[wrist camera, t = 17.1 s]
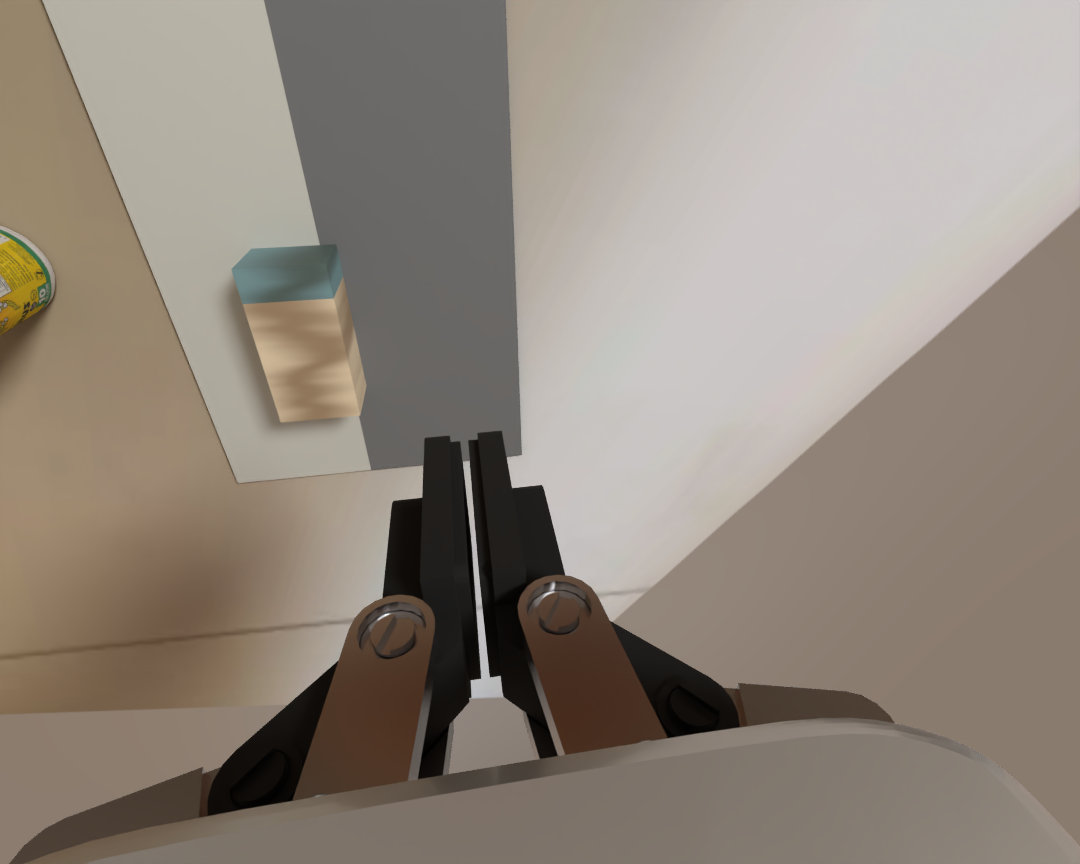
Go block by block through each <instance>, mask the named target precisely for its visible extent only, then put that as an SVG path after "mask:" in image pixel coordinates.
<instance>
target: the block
mask: <svg viewBox="0 0 1080 864" xmlns="http://www.w3.org/2000/svg"><path fill="white" fill-rule="evenodd" d="M231 270H232V273H233V276H234V279H235V282H236V286H237V289H238V292H239V295H240V298H241V301H242V304H243V307H244V310H245V313H246V316H247V319H248V323H249V326H250V329H251V332H252V335H253V338H254V341H255V344H256V347H257V350H258V353H259V356H260V360H261V363H262V366H263V369H264V372H265V375H266V378H267V381H268V384H269V387H270V390H271V393H272V397H273V400H274V403H275V406H276V409H277V412H278V415H279V418H280V421H281V422H292V421H304V420H315V419H326V418H338V417H349V416H360V414H361V409H362V405H363V400H364V395H365V391H366V381H365V377H364V372H363V367H362V363H361V358H360V353H359V348H358V344H357V339H356V334H355V330H354V325H353V320H352V315H351V311H350V306H349V301H348V297H347V292H346V287H345V282H344V278H343V273H342V268H341V264H340V259H339V254H338V249H337V245H336V244H332V245H313V246H294V247H274V248H255V249H250V250H249V252H248V253H247V254H246V255H245V256H244V257H243V258H242V259H241V260H240V261H239V262H238V263H237V264H236V265H235V266H234V267H233V268H232V269H231Z"/></svg>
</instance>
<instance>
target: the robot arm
mask: <svg viewBox="0 0 1080 864" xmlns="http://www.w3.org/2000/svg"><path fill="white" fill-rule="evenodd" d="M477 436H478V439H476V440H468V445H469V457H470V469H471V481H472V494H473V506H474V518H475V530H476V542H477V555H478V566H479V577H480V587H481V597H482V606H483V616H484V625H485V635H486V645H487V654H488V664H489V673H490V677H495V676H501V682H502V692H503V696H504V697H505V698H506V699H508V700H509V701H510V702H512V703H513V704H515V705H516V706H518V707H519V708H520V709H521V710H523V716H524V721H525V725H526V728H527V732H528V735H529V739H530V742H531V746H532V749H533V752H534V756H535V759H536V760H532V761H526V762H520V763H514V764H508V765H502V766H496V767H490V768H484V769H478V770H472V771H466V772H460V773H454V774H448V773H449V766H450V758H451V750H452V741H453V733H454V723H453V720H454V719H455V718H456V716H457V715H458V714H459V713H460V712H461V711H462V710H463V708H464V707H465V706H466V705H467V704H468V703H469V698H471V681H470V680H475V679H481V670H480V656H479V642H478V628H477V614H476V600H475V586H474V572H473V558H472V545H471V534H470V524H469V515H468V506H467V497H466V488H465V479H464V470H463V461H462V452H461V443H460V441H455V442H451V439H450V435H449V436H438V437H427V438H425V439H424V466H423V496H422V498H417V499H407V500H398V501H393V503H392V509H391V519H390V529H389V539H388V549H387V559H386V569H385V579H384V589H383V598H382V599H379V600H377V601H374V602H373V603H371V604H370V605H368V606H367V607H365V608H364V609H363V610H362V611H361V612H360V613H359V614H358V615H357V616H356V617H355V619H354V621H353V622H352V624H351V626H350V628H349V631H348V634H347V637H346V640H345V643H344V646H343V649H342V652H341V655H340V658H339V661H337V662H336V663H335V664H334V665H333V666H332V667H331V668H330V669H328V670H327V671H326V672H325V673H324V674H323V675H322V676H320V677H319V678H318V679H317V680H316V681H315V682H314V683H312V684H311V685H310V686H309V687H308V688H307V689H306V690H304V691H303V692H302V693H301V694H300V695H299V696H298V697H296V698H295V699H294V700H293V701H292V702H291V703H290V704H288V705H287V706H286V707H285V708H284V709H283V710H282V711H280V712H279V713H278V714H277V715H276V716H275V717H274V718H273V719H271V720H270V721H269V722H268V723H267V724H266V725H265V726H263V727H262V728H261V729H260V730H259V731H258V732H257V733H255V734H254V735H253V736H252V737H251V738H250V739H249V740H248V741H246V742H245V743H244V744H243V745H242V746H241V747H240V748H238V749H237V750H236V751H235V752H234V753H233V754H232V755H231V756H230V758H229V759H228V760H227V761H226V762H225V763H224V764H223V765H222V767H220V768H217V769H214V770H212V771H209V772H206V771H205V769H204V768H203V767H201V768H199V769H196V770H193V771H191V772H188V773H185V774H183V775H180V776H177V777H175V778H172V779H169V780H166V781H164V782H161V783H158V784H156V785H153V786H150V787H148V788H145V789H142V790H139V791H137V792H134V793H132V794H129V795H126V796H123V797H121V798H118V799H115V800H113V801H110V802H107V803H105V804H102V805H99V806H96V807H94V808H91V809H88V810H86V811H83V812H80V813H78V814H75V815H73V816H69V817H67V818H64V819H62V820H61V821H59V822H57V823H55V824H53V825H51V826H49V827H47V828H45V829H44V830H42V831H41V832H40V833H39V834H38V835H36V836H35V837H34V838H33V839H31V840H30V841H29V842H28V843H27V844H25V845H24V846H23V847H22V849H21V850H20V851H19V852H18V854H17V855H16V856H15V857H14V859H13V860H12V861H11V862H10V863H9V864H1080V847H1079V845H1078V844H1077V843H1076V842H1075V841H1074V840H1073V839H1072V837H1071V836H1070V835H1069V834H1068V833H1067V832H1066V831H1065V830H1064V829H1063V827H1061V826H1060V824H1059V823H1058V822H1057V821H1056V820H1055V819H1054V818H1053V817H1052V816H1051V815H1050V814H1049V813H1048V811H1047V810H1045V808H1044V807H1043V806H1042V805H1041V804H1040V803H1039V802H1038V801H1037V800H1036V799H1035V798H1034V797H1033V796H1032V795H1031V794H1030V793H1029V792H1028V791H1027V790H1026V789H1025V788H1024V787H1023V786H1022V785H1021V784H1020V783H1019V782H1017V781H1016V780H1015V779H1014V778H1013V777H1012V776H1011V775H1009V774H1008V773H1007V772H1006V771H1005V770H1004V769H1003V768H1001V767H1000V766H999V765H997V764H996V763H994V762H993V761H992V760H990V759H989V758H987V757H986V756H985V755H983V754H981V753H979V752H977V751H976V750H974V749H972V748H970V747H968V746H966V745H964V744H962V743H959V742H956V741H954V740H952V739H949V738H947V737H943V736H941V735H938V734H935V733H932V732H928V731H925V730H921V729H917V728H913V727H910V726H906V725H902V724H896V723H894V721H893V720H892V718H891V717H890V715H889V714H888V713H886V712H885V711H884V710H883V709H882V708H881V707H880V706H879V705H878V704H877V703H875V702H873V701H871V700H869V699H868V698H866V697H864V696H862V695H859V694H855V693H851V692H847V691H836V690H823V689H811V688H798V687H784V686H772V685H758V684H745V683H738V685H737V688H736V689H735V688H723V687H722V686H721V685H719V684H718V683H717V682H715V681H714V680H712V679H711V678H710V677H708V676H706V675H704V674H703V673H701V672H699V671H697V670H695V669H694V668H692V667H690V666H688V665H687V664H685V663H683V662H682V661H680V660H678V659H676V658H674V657H672V656H671V655H669V654H667V653H666V652H664V651H662V650H660V649H659V648H657V647H655V646H653V645H651V644H650V643H648V642H646V641H644V640H643V639H641V638H639V637H637V636H636V635H634V634H632V633H630V632H629V631H627V630H625V629H623V628H621V627H620V626H618V625H616V624H614V623H613V622H611V621H610V620H609V618H608V616H607V614H606V612H605V610H604V608H603V606H602V604H601V602H600V600H599V598H598V596H597V595H596V594H595V592H594V591H593V589H592V588H591V587H590V586H588V585H587V584H586V583H584V582H583V581H582V580H579V579H576V578H574V577H571V576H565V572H564V568H563V564H562V560H561V556H560V552H559V548H558V544H557V540H556V536H555V532H554V528H553V524H552V520H551V516H550V512H549V508H548V504H547V500H546V496H545V492H544V489H543V486H542V485H539V486H529V487H520V488H512V486H511V480H510V475H509V469H508V463H507V457H506V452H505V446H504V440H503V434H502V431H491V432H481V433H477Z"/></svg>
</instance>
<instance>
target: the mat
mask: <svg viewBox="0 0 1080 864" xmlns="http://www.w3.org/2000/svg"><path fill="white" fill-rule="evenodd" d="M42 1H43V3H44V6H45V8H46V11H47V13H48V16H49V18H50V21H51V23H52V25H53V28H54V30H55V33H56V35H57V38H58V40H59V43H60V45H61V48H62V50H63V53H64V55H65V58H66V60H67V63H68V65H69V67H70V70H71V72H72V75H73V77H74V80H75V82H76V85H77V87H78V90H79V92H80V95H81V97H82V100H83V102H84V104H85V107H86V109H87V112H88V114H89V117H90V119H91V122H92V124H93V127H94V129H95V132H96V134H97V137H98V139H99V142H100V144H101V146H102V149H103V151H104V154H105V156H106V159H107V161H108V164H109V166H110V169H111V171H112V174H113V176H114V179H115V181H116V183H117V186H118V188H119V191H120V193H121V196H122V198H123V201H124V203H125V206H126V208H127V211H128V213H129V216H130V218H131V221H132V223H133V225H134V228H135V230H136V233H137V235H138V238H139V240H140V243H141V245H142V248H143V250H144V253H145V255H146V258H147V260H148V263H149V265H150V267H151V270H152V272H153V275H154V277H155V280H156V282H157V285H158V287H159V290H160V292H161V295H162V297H163V300H164V302H165V304H166V307H167V309H168V312H169V314H170V317H171V319H172V322H173V324H174V327H175V329H176V332H177V334H178V337H179V339H180V342H181V344H182V346H183V349H184V351H185V354H186V356H187V359H188V361H189V364H190V366H191V369H192V371H193V374H194V376H195V379H196V381H197V383H198V386H199V388H200V391H201V393H202V396H203V398H204V401H205V403H206V406H207V408H208V411H209V413H210V416H211V418H212V421H213V423H214V425H215V428H216V430H217V433H218V435H219V438H220V440H221V443H222V445H223V448H224V450H225V453H226V455H227V458H228V460H229V462H230V465H231V467H232V470H233V472H234V475H235V477H236V480H237V482H238V483H245V482H255V481H265V480H276V479H286V478H296V477H306V476H316V475H326V474H336V473H346V472H356V471H366V470H376V469H386V468H396V467H406V466H416V465H424V439H425V438H427V437H438V436H449V435H450V439H451V442H455V441H460V443H461V452H462V461H466V460H470V457H469V445H468V440H476V439H478V436H477V433H481V432H491V431H502V434H503V440H504V446H505V452H506V457H507V456H517V455H522V450H521V422H520V394H519V366H518V338H517V309H516V281H515V253H514V225H513V197H512V169H511V141H510V113H509V85H508V57H507V29H506V1H505V0H42ZM332 244H336V245H337V249H338V254H339V259H340V264H341V268H342V273H343V278H344V282H345V287H346V292H347V297H348V301H349V306H350V311H351V315H352V320H353V325H354V330H355V334H356V339H357V344H358V348H359V353H360V358H361V363H362V367H363V372H364V377H365V381H366V391H365V395H364V400H363V405H362V409H361V414H360V416H349V417H338V418H326V419H315V420H304V421H292V422H281V421H280V418H279V415H278V412H277V409H276V406H275V403H274V400H273V397H272V393H271V390H270V387H269V384H268V381H267V378H266V375H265V372H264V369H263V366H262V363H261V360H260V356H259V353H258V350H257V347H256V344H255V341H254V338H253V335H252V332H251V329H250V326H249V323H248V319H247V316H246V313H245V310H244V307H243V304H242V301H241V298H240V295H239V292H238V289H237V286H236V282H235V279H234V276H233V273H232V270H231V269H232V268H233V267H234V266H235V265H236V264H237V263H238V262H239V261H240V260H241V259H242V258H243V257H244V256H245V255H246V254H247V253H248V252H249V250H250V249H255V248H274V247H294V246H313V245H332Z"/></svg>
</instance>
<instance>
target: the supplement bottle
mask: <svg viewBox="0 0 1080 864" xmlns="http://www.w3.org/2000/svg"><path fill="white" fill-rule="evenodd" d="M54 291H55V274H54V271H53V269H52V266H51V264H50V262H49V261H48V259H47V258H46V257H45V255H44V254H43V253H42V252H41V251H40V250H39V249H38V248H37V247H36V246H35V245H34V244H33V243H32V242H30V241H29V240H28V239H27V238H25V237H24V236H22V235H20V234H19V233H17V232H15V231H12V230H10V229H8V228H6V227H3V226H0V335H2V334H3V333H5V332H6V331H8V330H10V329H11V328H13V327H15V326H16V325H18V324H19V323H21V322H22V321H24V320H25V319H27V318H29V317H30V316H32V315H33V314H35V313H37V312H38V311H40V310H41V309H42V308H44V307H45V306H46V305H48V304H49V302H50V301H51V300H52V298H53V296H54Z"/></svg>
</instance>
